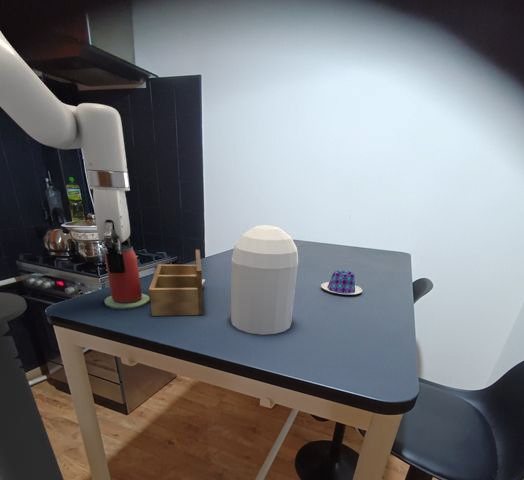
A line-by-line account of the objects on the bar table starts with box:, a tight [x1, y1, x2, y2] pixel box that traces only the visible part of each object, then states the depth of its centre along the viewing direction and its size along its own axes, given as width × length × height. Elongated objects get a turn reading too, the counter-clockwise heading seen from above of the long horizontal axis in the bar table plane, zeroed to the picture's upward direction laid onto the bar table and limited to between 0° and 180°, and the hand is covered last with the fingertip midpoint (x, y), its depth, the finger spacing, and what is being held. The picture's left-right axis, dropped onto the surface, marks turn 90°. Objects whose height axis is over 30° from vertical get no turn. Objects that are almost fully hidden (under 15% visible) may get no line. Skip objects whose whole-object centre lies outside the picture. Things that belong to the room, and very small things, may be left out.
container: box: [230, 224, 299, 336], centre depth 65 cm, size 14×13×20 cm
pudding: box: [320, 269, 364, 296], centre depth 92 cm, size 12×12×5 cm
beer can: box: [104, 245, 143, 303], centre depth 73 cm, size 7×7×12 cm
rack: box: [148, 249, 204, 317], centre depth 77 cm, size 11×21×10 cm, turn 11°
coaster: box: [104, 292, 150, 310], centre depth 76 cm, size 10×10×1 cm
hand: (121, 266), depth 72 cm, fingers open, 9 cm apart
